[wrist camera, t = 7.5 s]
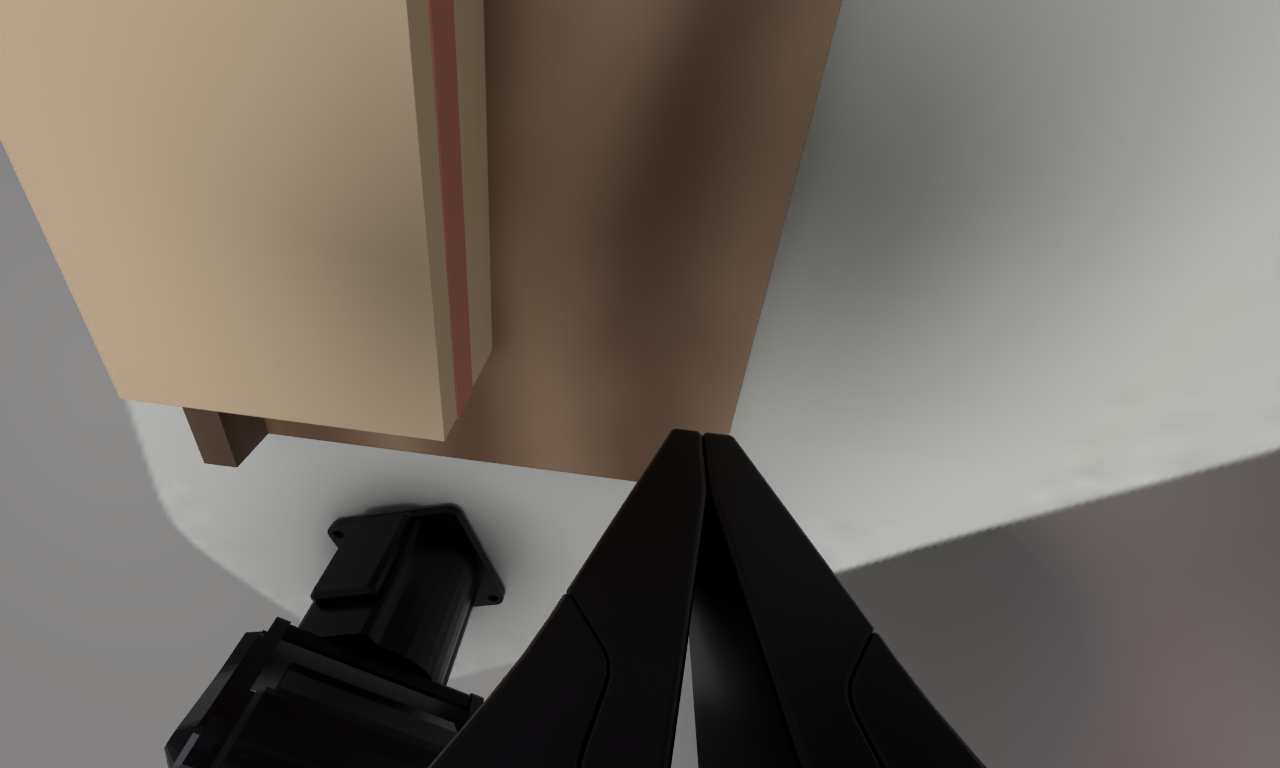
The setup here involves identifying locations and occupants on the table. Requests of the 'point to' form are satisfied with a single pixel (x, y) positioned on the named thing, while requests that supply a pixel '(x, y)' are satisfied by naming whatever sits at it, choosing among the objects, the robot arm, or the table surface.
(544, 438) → the display board
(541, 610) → the table surface
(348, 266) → the kraft carton
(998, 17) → the table surface
